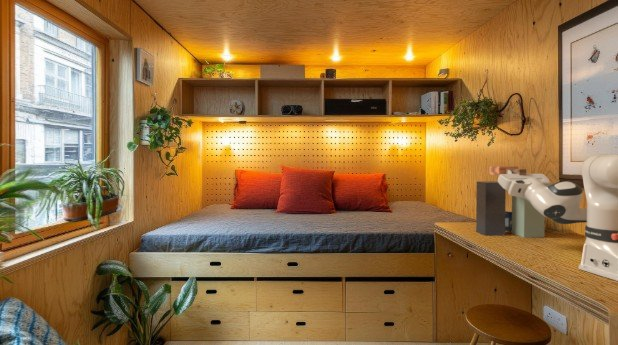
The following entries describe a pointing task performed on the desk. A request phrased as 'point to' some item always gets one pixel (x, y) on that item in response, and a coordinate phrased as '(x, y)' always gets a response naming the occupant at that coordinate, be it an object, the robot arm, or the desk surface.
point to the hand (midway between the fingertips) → (513, 171)
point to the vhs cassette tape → (508, 221)
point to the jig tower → (490, 208)
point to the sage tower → (526, 219)
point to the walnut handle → (506, 170)
